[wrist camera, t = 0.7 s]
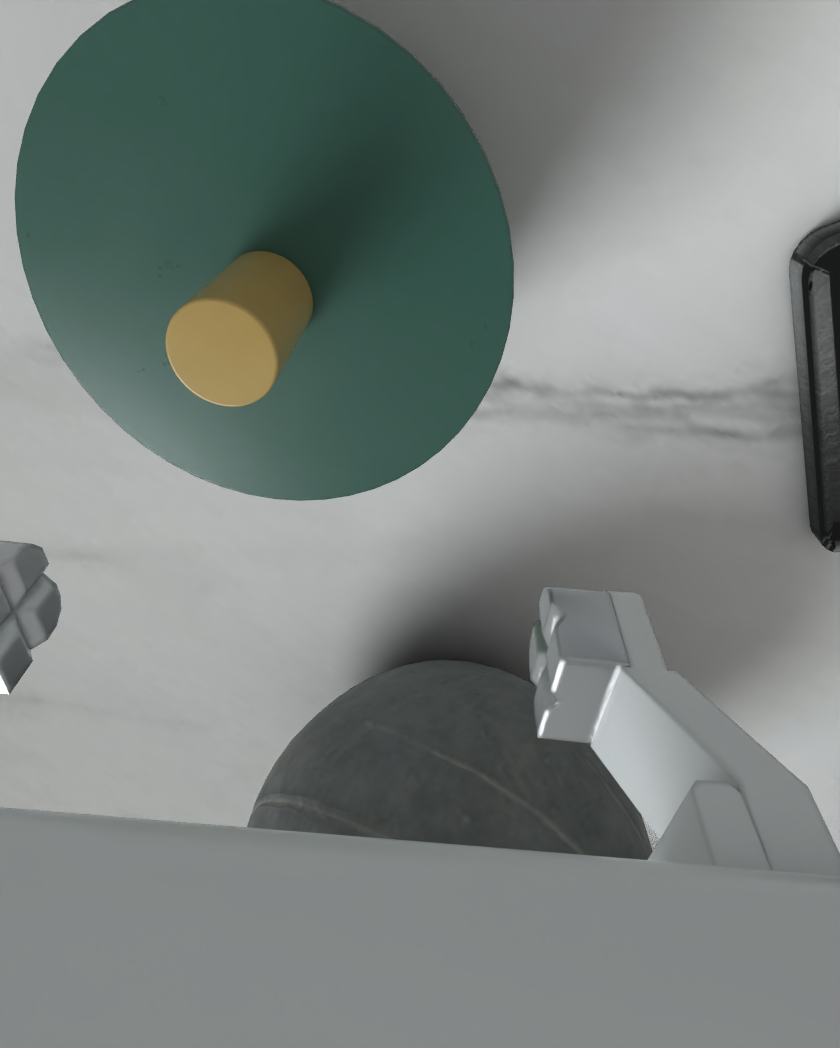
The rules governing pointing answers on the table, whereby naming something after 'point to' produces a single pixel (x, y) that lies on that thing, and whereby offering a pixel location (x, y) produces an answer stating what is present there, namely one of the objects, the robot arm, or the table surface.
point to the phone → (819, 373)
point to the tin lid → (265, 242)
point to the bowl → (448, 770)
